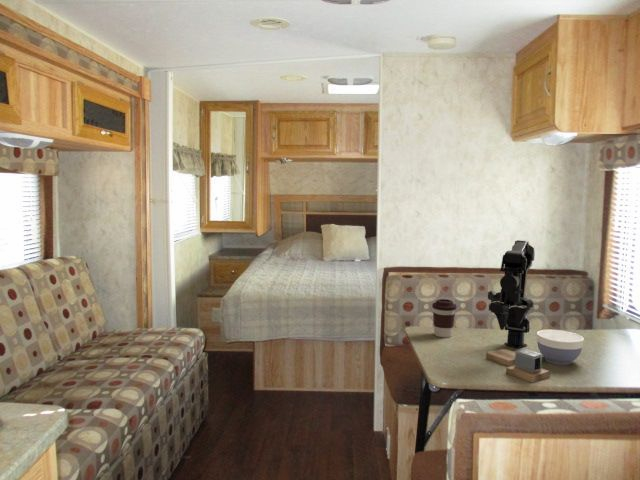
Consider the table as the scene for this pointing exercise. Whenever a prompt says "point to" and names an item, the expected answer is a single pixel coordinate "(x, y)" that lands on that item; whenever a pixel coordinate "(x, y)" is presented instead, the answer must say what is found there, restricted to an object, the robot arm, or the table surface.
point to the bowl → (559, 346)
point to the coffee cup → (443, 317)
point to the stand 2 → (527, 374)
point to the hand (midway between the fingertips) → (509, 327)
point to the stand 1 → (502, 356)
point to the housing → (528, 360)
